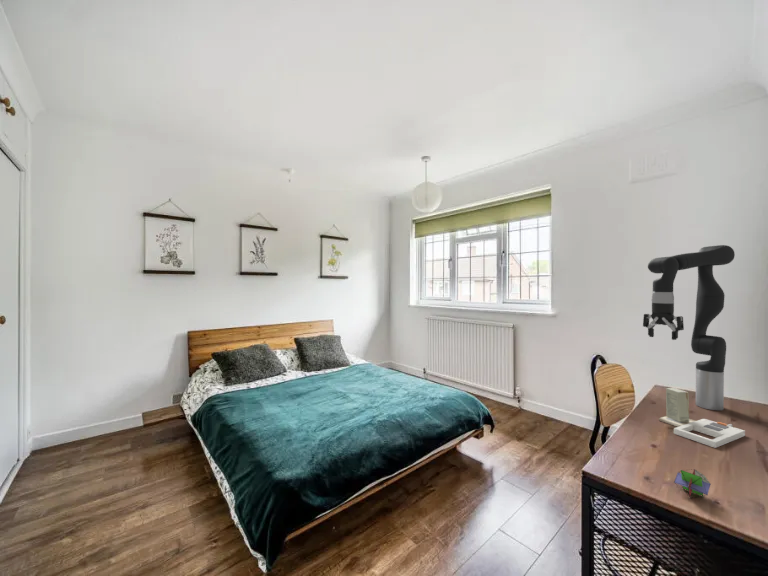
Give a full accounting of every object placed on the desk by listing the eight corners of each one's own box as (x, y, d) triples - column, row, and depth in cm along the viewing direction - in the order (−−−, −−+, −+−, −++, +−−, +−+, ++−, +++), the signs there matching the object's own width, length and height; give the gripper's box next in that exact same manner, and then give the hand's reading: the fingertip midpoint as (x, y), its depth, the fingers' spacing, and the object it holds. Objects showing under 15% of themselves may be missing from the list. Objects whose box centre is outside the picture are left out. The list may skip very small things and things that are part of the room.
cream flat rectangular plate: (673, 416, 141) (673, 413, 141) (697, 423, 134) (697, 420, 134) (658, 420, 136) (658, 418, 136) (682, 428, 129) (682, 425, 129)
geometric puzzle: (704, 501, 83) (709, 470, 86) (670, 487, 89) (675, 458, 91) (709, 508, 87) (713, 478, 89) (675, 495, 92) (680, 467, 95)
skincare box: (689, 422, 132) (689, 392, 132) (678, 422, 132) (679, 392, 132) (675, 415, 138) (675, 387, 138) (665, 415, 138) (665, 387, 138)
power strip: (711, 420, 136) (711, 414, 136) (752, 432, 125) (752, 425, 125) (673, 433, 125) (673, 426, 125) (715, 447, 114) (715, 440, 114)
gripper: (687, 302, 140) (686, 340, 141) (649, 301, 153) (649, 335, 154) (677, 303, 137) (677, 341, 138) (639, 301, 150) (639, 336, 151)
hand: (662, 338), depth 146 cm, fingers open, 8 cm apart
